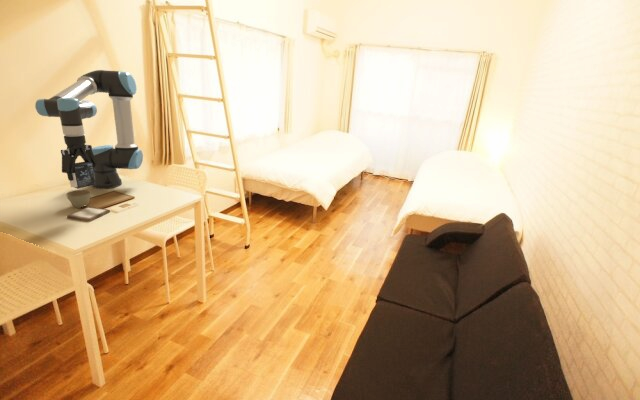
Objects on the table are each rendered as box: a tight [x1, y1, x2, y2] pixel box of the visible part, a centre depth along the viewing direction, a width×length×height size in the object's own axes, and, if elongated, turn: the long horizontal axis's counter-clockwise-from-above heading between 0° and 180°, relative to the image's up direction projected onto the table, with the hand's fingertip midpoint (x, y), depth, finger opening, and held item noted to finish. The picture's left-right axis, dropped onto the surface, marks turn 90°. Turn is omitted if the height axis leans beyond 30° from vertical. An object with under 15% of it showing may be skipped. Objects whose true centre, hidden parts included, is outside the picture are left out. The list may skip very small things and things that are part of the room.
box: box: [69, 161, 96, 190], centre depth 152 cm, size 8×6×11 cm
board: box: [66, 206, 111, 222], centre depth 158 cm, size 12×12×1 cm
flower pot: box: [65, 189, 92, 209], centre depth 166 cm, size 10×10×7 cm
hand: (83, 183), depth 153 cm, fingers closed on box, 9 cm apart
